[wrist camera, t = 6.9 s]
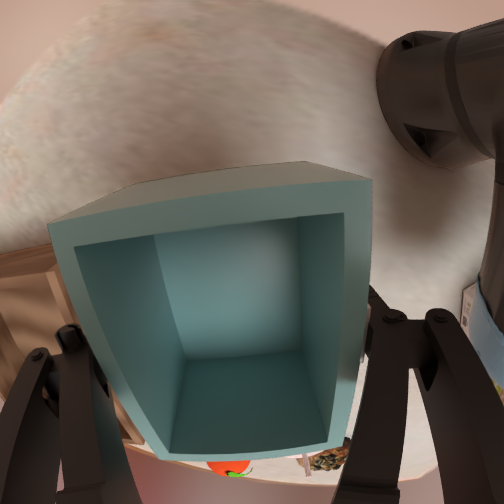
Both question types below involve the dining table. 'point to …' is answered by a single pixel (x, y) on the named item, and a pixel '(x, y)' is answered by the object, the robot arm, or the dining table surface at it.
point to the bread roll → (328, 458)
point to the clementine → (229, 467)
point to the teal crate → (226, 305)
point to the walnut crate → (38, 318)
